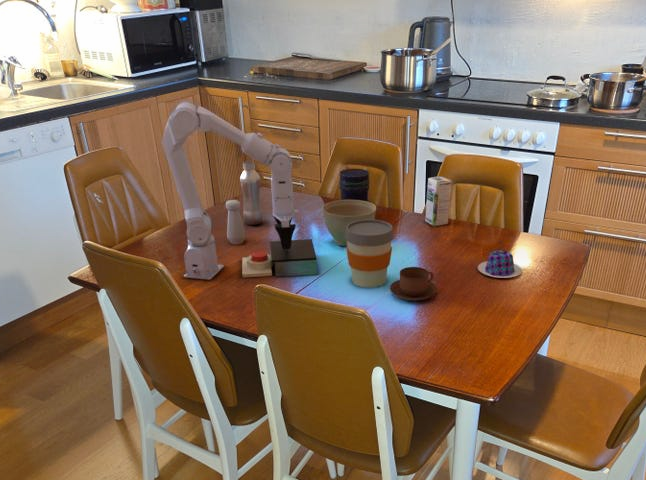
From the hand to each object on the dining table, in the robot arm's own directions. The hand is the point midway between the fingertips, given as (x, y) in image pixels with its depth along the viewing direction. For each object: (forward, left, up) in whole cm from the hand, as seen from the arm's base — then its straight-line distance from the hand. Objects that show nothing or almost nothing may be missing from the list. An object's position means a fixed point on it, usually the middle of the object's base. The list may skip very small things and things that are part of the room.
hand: (285, 243), depth 179 cm
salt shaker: (+14, +21, -7) cm, 27 cm away
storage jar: (+45, -9, -7) cm, 47 cm away
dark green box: (+1, -2, -7) cm, 7 cm away
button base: (-3, +8, -7) cm, 11 cm away
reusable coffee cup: (-5, -25, -7) cm, 26 cm away
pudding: (+9, -59, -7) cm, 60 cm away
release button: (-3, +7, -4) cm, 9 cm away
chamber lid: (+1, -2, -2) cm, 3 cm away
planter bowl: (+22, -13, -7) cm, 27 cm away
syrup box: (+45, -37, -7) cm, 59 cm away
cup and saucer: (-11, -38, -7) cm, 40 cm away
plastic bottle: (+31, +22, -7) cm, 39 cm away
